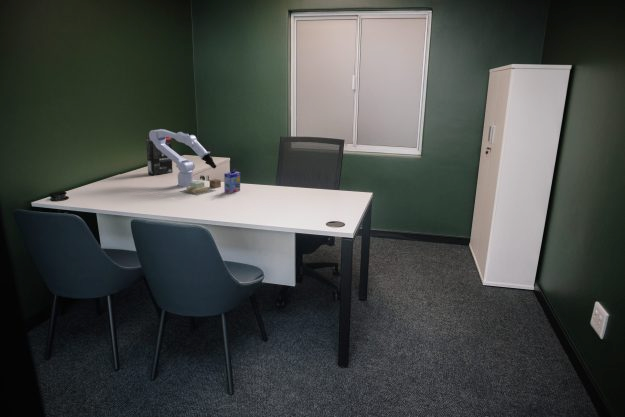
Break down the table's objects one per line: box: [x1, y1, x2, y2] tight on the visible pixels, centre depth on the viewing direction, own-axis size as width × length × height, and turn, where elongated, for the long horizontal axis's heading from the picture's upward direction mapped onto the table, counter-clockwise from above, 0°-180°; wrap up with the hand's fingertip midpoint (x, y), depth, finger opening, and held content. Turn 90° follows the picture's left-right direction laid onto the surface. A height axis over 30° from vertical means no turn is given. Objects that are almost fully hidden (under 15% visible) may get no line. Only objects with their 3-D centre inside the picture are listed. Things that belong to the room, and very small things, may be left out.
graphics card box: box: [145, 136, 174, 176], centre depth 319 cm, size 17×7×27 cm, turn 144°
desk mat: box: [178, 188, 216, 196], centre depth 274 cm, size 16×16×1 cm
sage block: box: [190, 180, 205, 189], centre depth 272 cm, size 6×6×3 cm
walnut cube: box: [209, 178, 222, 189], centre depth 285 cm, size 5×5×5 cm
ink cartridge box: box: [223, 168, 241, 195], centre depth 273 cm, size 10×6×14 cm, turn 152°
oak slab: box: [186, 185, 209, 193], centre depth 273 cm, size 9×9×2 cm
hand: (214, 166), depth 277 cm, fingers open, 7 cm apart
